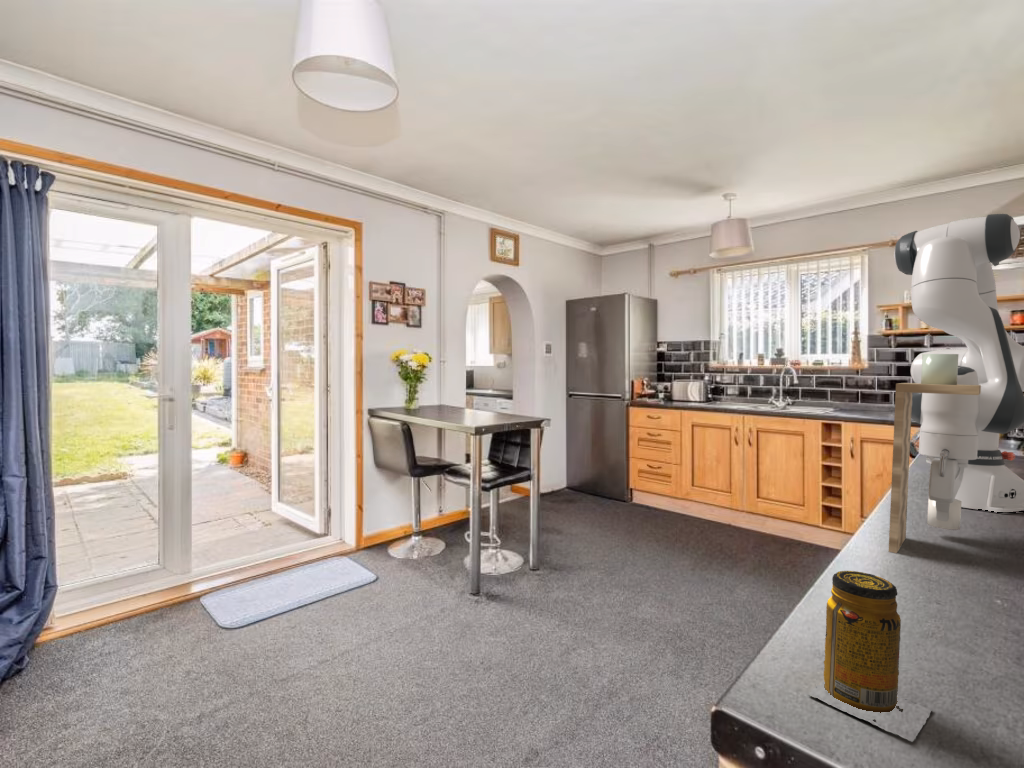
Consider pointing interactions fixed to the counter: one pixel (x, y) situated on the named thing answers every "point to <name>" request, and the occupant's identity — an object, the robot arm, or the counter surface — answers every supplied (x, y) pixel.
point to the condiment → (862, 641)
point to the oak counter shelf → (903, 451)
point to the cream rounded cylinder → (954, 516)
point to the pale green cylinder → (939, 369)
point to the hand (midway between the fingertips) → (943, 517)
